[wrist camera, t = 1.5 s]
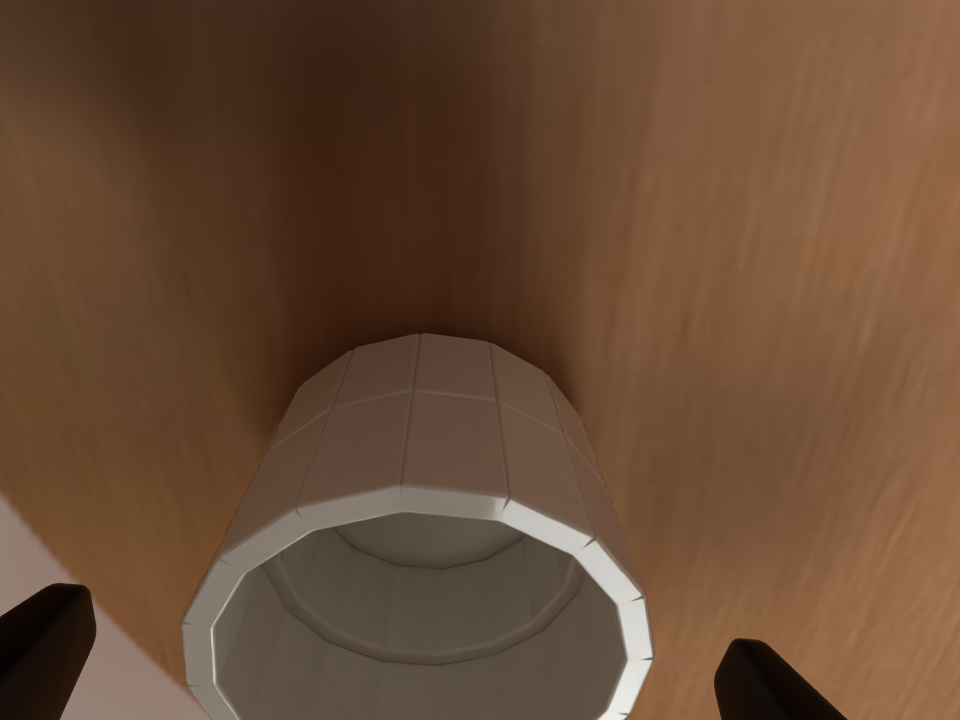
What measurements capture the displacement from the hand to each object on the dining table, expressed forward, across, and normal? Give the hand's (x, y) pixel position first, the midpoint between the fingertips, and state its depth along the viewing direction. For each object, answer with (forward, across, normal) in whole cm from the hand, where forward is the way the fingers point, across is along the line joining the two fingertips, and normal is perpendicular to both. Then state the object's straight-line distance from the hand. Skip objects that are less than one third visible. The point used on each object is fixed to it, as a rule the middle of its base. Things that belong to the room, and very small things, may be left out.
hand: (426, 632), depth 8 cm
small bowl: (+4, 0, 0) cm, 4 cm away
